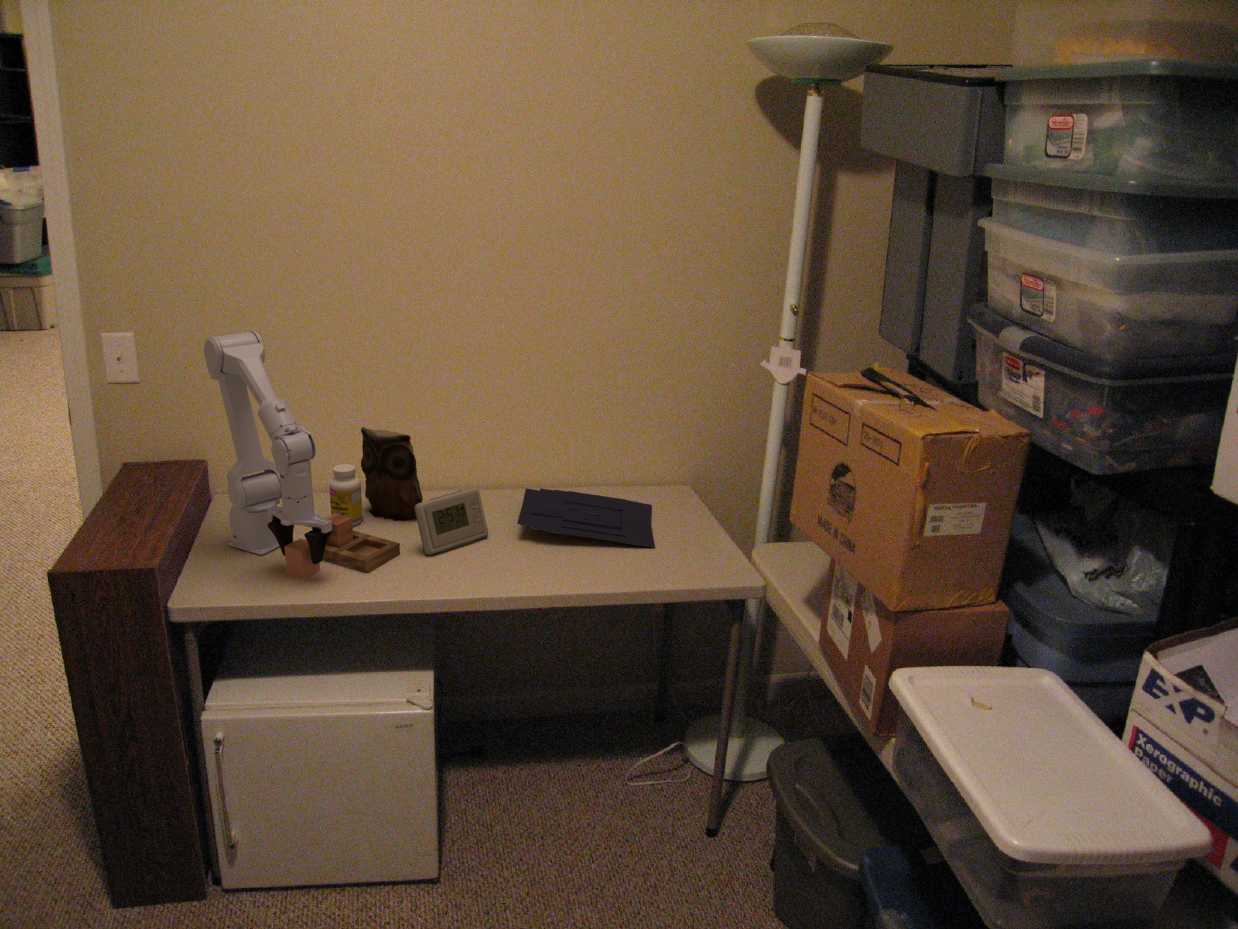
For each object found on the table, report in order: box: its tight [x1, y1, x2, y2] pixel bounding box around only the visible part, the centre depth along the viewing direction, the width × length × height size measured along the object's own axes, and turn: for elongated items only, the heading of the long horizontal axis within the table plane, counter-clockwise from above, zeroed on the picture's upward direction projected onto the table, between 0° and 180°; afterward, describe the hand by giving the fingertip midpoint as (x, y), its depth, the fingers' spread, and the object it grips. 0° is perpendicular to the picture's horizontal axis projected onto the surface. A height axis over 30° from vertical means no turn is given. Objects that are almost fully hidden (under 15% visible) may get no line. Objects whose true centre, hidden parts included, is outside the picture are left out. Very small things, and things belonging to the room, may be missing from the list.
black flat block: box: [516, 487, 656, 549], centre depth 216 cm, size 24×30×4 cm
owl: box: [360, 426, 424, 522], centre depth 214 cm, size 13×13×20 cm
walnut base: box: [323, 513, 401, 574], centre depth 196 cm, size 16×10×7 cm, turn 64°
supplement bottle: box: [328, 463, 363, 527], centre depth 210 cm, size 7×7×13 cm
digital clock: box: [415, 487, 489, 556], centre depth 203 cm, size 16×9×11 cm, turn 123°
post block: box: [284, 538, 321, 580], centre depth 188 cm, size 4×4×6 cm
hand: (302, 558), depth 188 cm, fingers open, 7 cm apart
